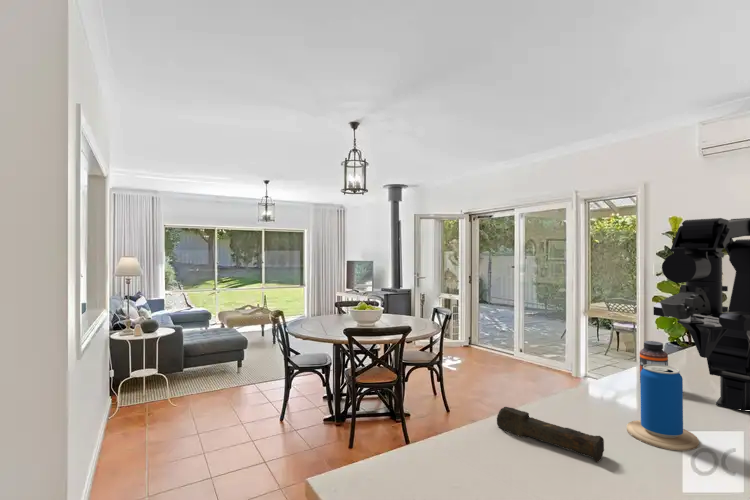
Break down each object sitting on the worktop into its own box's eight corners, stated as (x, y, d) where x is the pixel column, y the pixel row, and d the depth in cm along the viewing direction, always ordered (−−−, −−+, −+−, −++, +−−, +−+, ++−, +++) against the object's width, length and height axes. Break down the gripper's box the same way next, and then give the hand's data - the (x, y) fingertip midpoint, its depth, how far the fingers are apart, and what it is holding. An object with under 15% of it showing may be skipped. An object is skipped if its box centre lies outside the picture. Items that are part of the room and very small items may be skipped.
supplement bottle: (638, 381, 106) (637, 338, 106) (665, 384, 103) (665, 340, 103) (641, 388, 100) (641, 343, 100) (670, 392, 98) (670, 346, 98)
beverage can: (685, 443, 71) (684, 375, 71) (641, 434, 74) (640, 370, 74) (681, 429, 76) (680, 366, 76) (640, 421, 80) (639, 361, 80)
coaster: (637, 418, 83) (637, 415, 83) (705, 436, 75) (705, 433, 75) (618, 434, 76) (618, 431, 76) (690, 457, 67) (690, 453, 67)
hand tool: (606, 457, 68) (606, 430, 68) (598, 466, 66) (598, 437, 66) (504, 423, 82) (504, 401, 82) (494, 429, 79) (493, 406, 79)
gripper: (631, 278, 89) (632, 348, 89) (717, 285, 71) (718, 374, 71) (674, 277, 91) (674, 345, 91) (768, 284, 73) (769, 369, 73)
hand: (704, 357), depth 81 cm, fingers closed
